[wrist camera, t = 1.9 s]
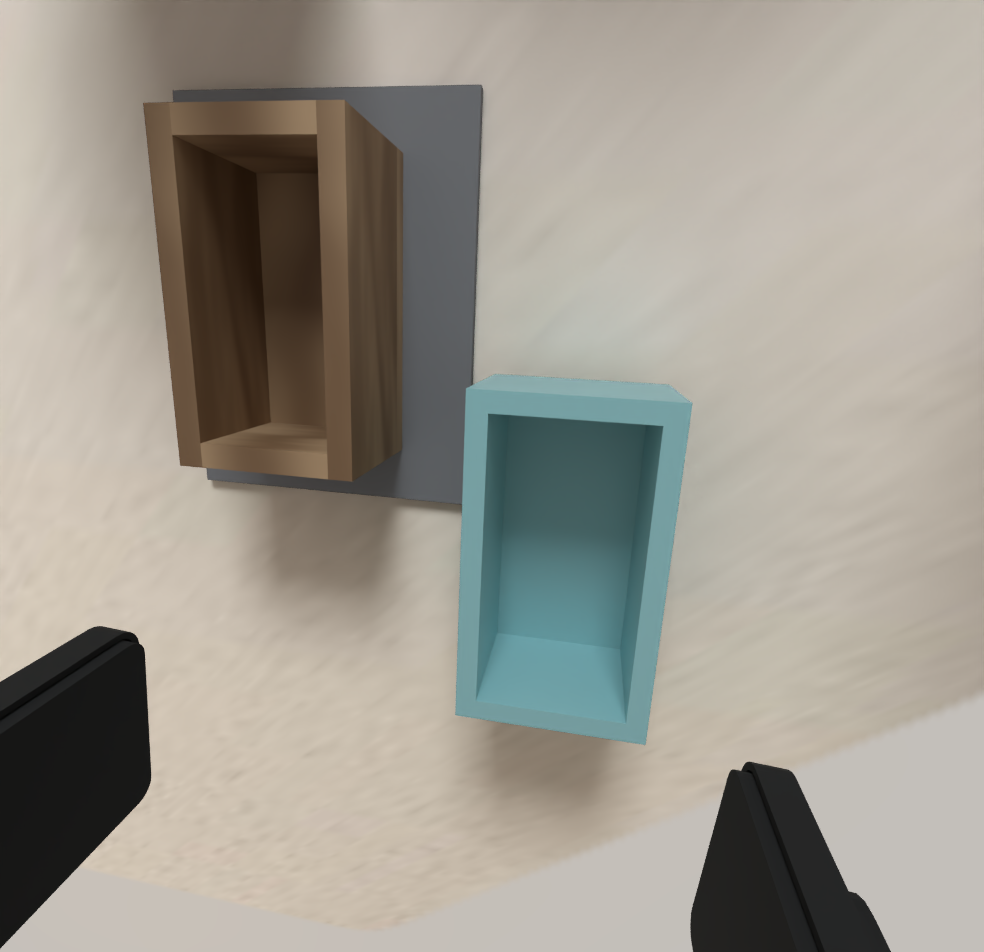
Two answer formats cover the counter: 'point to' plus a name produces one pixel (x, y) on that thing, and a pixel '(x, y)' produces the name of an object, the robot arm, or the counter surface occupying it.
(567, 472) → the teal crate
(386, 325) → the walnut crate
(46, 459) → the counter surface
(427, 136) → the mat
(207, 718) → the counter surface
